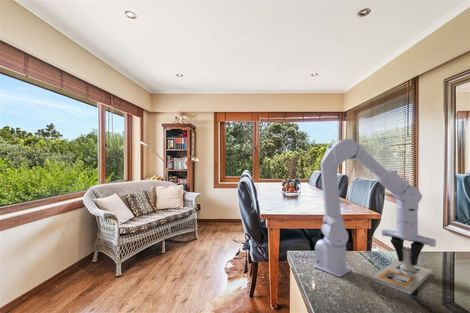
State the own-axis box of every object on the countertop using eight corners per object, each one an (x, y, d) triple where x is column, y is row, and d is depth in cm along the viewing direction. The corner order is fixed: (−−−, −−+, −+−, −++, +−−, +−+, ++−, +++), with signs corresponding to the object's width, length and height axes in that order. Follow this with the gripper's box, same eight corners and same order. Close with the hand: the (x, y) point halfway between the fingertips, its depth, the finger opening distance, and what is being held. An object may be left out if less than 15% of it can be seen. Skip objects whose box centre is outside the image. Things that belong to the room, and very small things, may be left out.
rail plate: (371, 280, 74) (371, 275, 74) (396, 263, 86) (395, 259, 86) (410, 294, 66) (410, 289, 66) (431, 273, 78) (431, 269, 78)
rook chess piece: (419, 276, 77) (418, 250, 77) (403, 275, 77) (403, 249, 78) (411, 270, 81) (411, 246, 81) (397, 268, 82) (396, 245, 82)
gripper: (438, 223, 76) (439, 266, 76) (387, 215, 88) (387, 253, 87) (432, 227, 72) (432, 273, 72) (379, 218, 83) (379, 257, 83)
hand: (407, 262), depth 79 cm, fingers closed on rook chess piece, 3 cm apart
